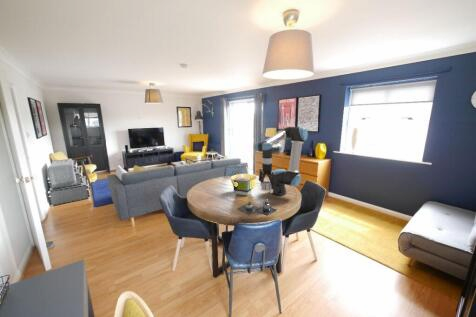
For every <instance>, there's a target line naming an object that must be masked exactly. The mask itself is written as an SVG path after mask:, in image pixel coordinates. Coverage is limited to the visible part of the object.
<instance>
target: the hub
mask: <svg viewBox="0 0 476 317" xmlns="http://www.w3.org/2000/svg"><path fill="white" fill-rule="evenodd" d="M256 209H257V210H256ZM258 209H260V207H259V206H257V205H254V204H253V203H252V197H251V196H249V197H248V196H247V203H246V204H243V205H242V206H239V207H238V208H237V210H239V211H241V212H243V213H245V214H247V215H250V216H251V215H252V214H254V212H255V213H257V212H259V211H258Z"/></svg>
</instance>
